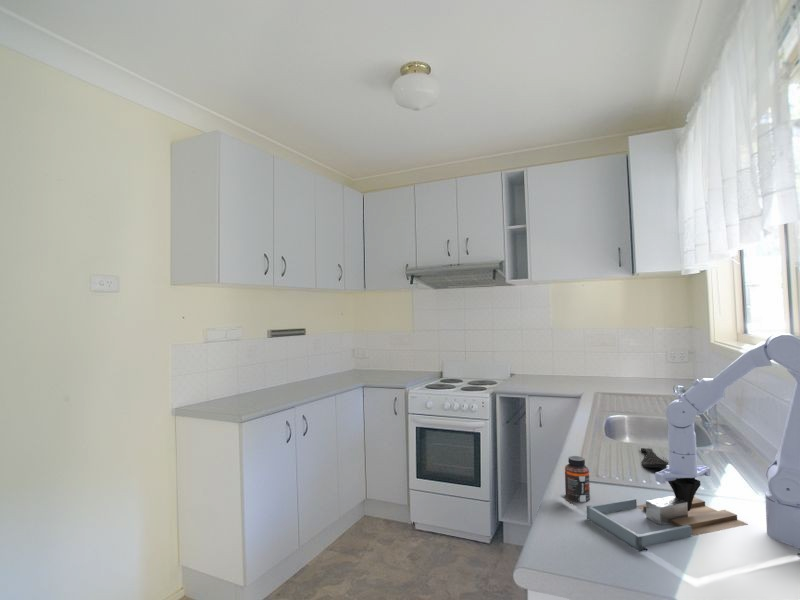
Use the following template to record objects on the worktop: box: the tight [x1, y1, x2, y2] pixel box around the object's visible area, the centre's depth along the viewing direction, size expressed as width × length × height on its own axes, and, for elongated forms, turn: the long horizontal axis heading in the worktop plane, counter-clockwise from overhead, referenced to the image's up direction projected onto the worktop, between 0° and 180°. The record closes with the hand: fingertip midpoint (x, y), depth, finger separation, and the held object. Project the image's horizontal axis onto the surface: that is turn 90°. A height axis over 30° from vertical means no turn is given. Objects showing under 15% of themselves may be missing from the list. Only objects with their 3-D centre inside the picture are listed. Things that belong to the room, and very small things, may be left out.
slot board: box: [637, 496, 749, 536], centre depth 109 cm, size 16×16×2 cm
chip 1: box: [645, 497, 674, 526], centre depth 107 cm, size 4×4×4 cm
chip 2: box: [659, 495, 688, 519], centre depth 108 cm, size 4×4×4 cm
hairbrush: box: [640, 447, 669, 469], centre depth 151 cm, size 8×4×25 cm
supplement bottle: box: [564, 455, 591, 504], centre depth 120 cm, size 6×6×11 cm
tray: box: [586, 497, 693, 553], centre depth 105 cm, size 16×14×3 cm
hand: (684, 509), depth 109 cm, fingers closed
